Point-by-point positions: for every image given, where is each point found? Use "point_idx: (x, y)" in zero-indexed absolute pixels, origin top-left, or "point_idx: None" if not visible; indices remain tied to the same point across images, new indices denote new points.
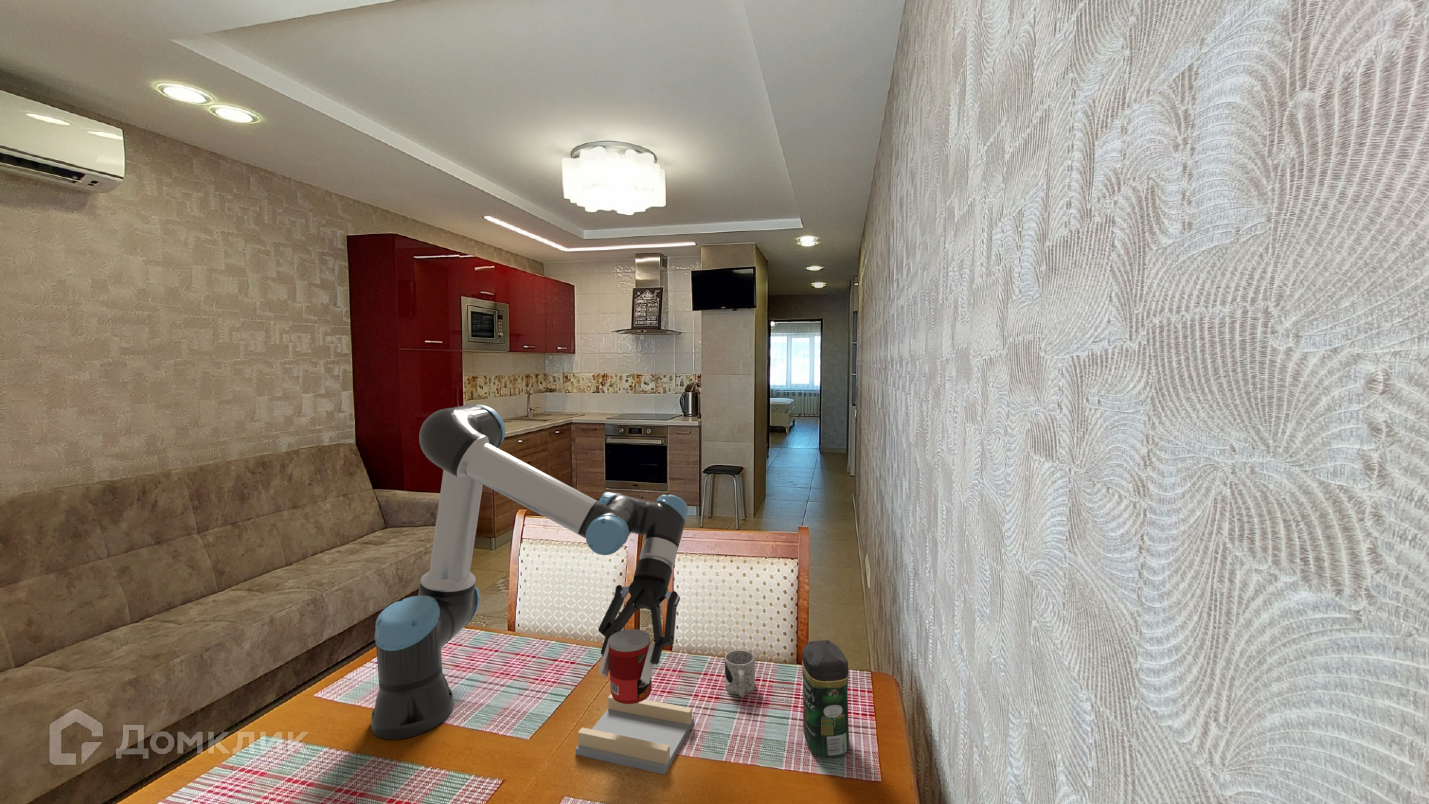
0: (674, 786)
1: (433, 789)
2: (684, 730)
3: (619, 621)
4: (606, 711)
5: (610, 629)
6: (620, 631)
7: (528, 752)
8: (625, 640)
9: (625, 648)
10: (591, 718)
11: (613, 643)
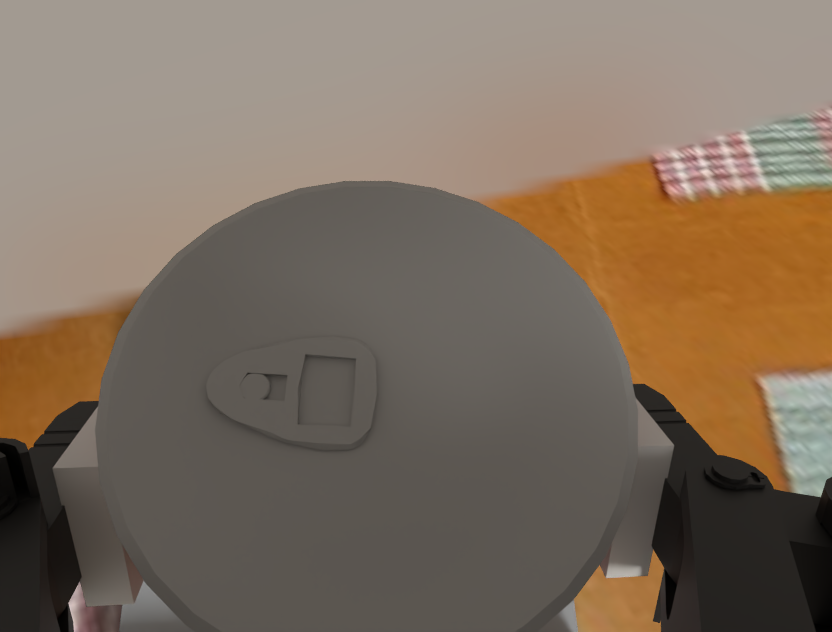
0: (105, 329)
1: (813, 121)
2: (129, 618)
3: (716, 626)
4: (575, 621)
5: (744, 511)
6: (592, 531)
7: (699, 317)
8: (417, 379)
9: (309, 190)
10: (625, 584)
11: (500, 253)
